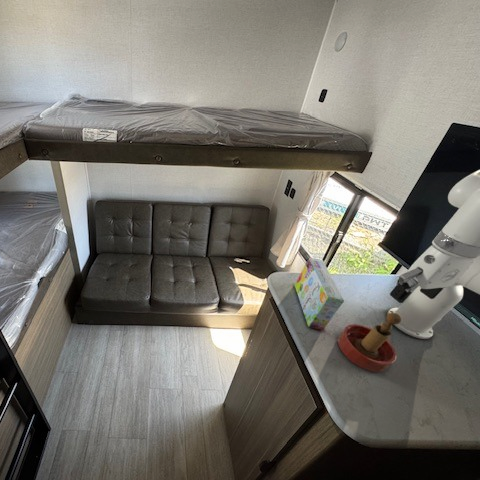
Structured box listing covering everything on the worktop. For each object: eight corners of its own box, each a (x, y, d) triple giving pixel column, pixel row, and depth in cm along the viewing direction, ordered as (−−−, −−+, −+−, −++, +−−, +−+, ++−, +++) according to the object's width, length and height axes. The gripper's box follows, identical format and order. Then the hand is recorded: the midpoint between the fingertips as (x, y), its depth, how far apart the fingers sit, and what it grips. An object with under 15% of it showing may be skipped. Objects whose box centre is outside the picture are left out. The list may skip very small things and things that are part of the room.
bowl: (361, 331, 87) (369, 322, 84) (397, 369, 76) (407, 360, 73) (327, 336, 84) (334, 326, 82) (360, 376, 74) (369, 367, 71)
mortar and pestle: (380, 361, 77) (418, 325, 67) (361, 362, 76) (396, 325, 66) (364, 342, 83) (397, 305, 72) (346, 342, 82) (376, 305, 72)
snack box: (324, 331, 86) (345, 301, 77) (307, 327, 87) (326, 297, 78) (307, 287, 103) (323, 258, 95) (293, 284, 104) (307, 256, 95)
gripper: (445, 257, 52) (397, 312, 61) (509, 251, 54) (452, 304, 64) (410, 237, 58) (370, 289, 67) (468, 232, 60) (423, 283, 70)
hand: (410, 296), depth 66 cm, fingers open, 9 cm apart
